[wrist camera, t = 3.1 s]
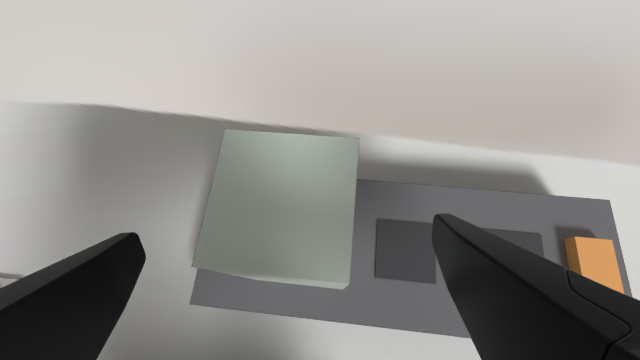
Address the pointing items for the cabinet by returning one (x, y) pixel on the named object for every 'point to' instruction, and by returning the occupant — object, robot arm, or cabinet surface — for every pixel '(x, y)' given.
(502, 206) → the power strip
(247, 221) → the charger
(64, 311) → the robot arm
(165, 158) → the cabinet surface
